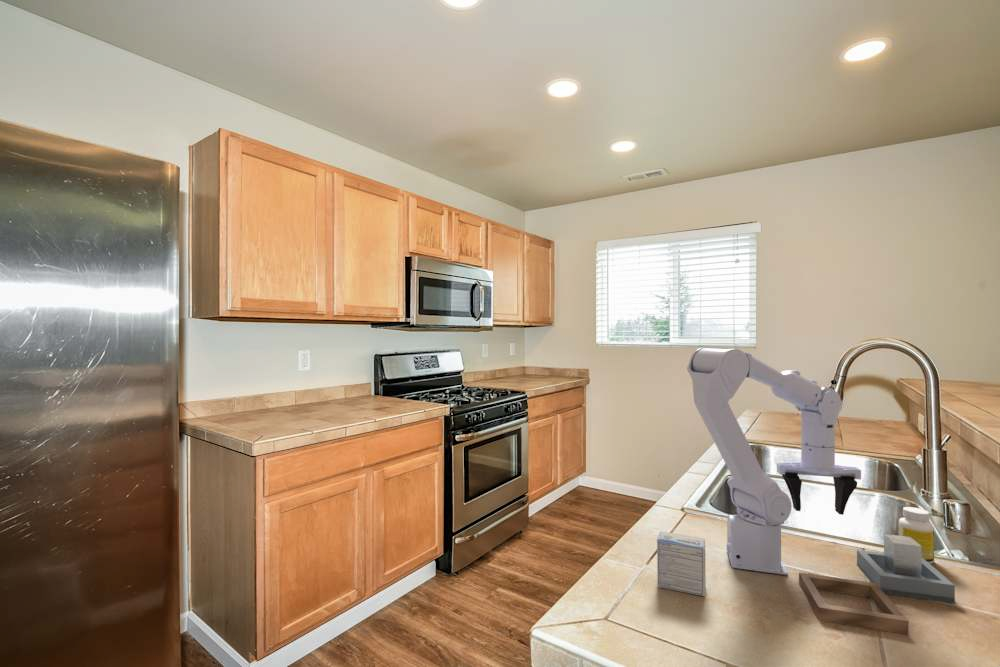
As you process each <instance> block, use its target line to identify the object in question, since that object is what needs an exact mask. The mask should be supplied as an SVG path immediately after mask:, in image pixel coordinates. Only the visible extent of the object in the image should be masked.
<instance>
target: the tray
mask: <svg viewBox="0 0 1000 667" xmlns="http://www.w3.org/2000/svg"><path fill="white" fill-rule="evenodd" d="M921 560H922V578H918V577H910V576H903V575H895V574H887V573H885V572H884V552H878V551H869V550H861V549H857V550H856V566H857V567H858V568H859V570H861V572H863V574H864V575H865V577H866V578H867V579H868V580H869V582H872V583H876V584H877V585H878V586H879V587H880V589H881V590H882V591H883V592H884V593H885V594H886V595H894V596H900V597H907V598H908V597H909V598H916V599H923V600H931V601H936V602H944V603H950V604H956V601H955V600H956V599H955V598H956V594H955V591H956V590H955V589H956V586H955V584H954V583H953V582H951V581H950V579H948V578H947V577H945V575H943V574H942V573H941V572H940V571H939V570H938V569H937V568H935V567H934V566H933V564H929V563H928V562H927V561H926V560H925V559H923V558H921Z"/></svg>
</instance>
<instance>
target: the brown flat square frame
mask: <svg viewBox="0 0 1000 667" xmlns="http://www.w3.org/2000/svg"><path fill="white" fill-rule="evenodd" d="M798 584H799V586H800V588H801V591H802V592H803V593H804V595H805V597H806V599H807V601H808V603H809V604H810V606H811V608H812V610H813V611H814V613H815V615H816V617H817V619H818V620H819V621H824V622H830V623H836V624H841V625H848V626H853V627H854V626H855V627H860V628H867V629H870V630H871V629H874V630H877V631H884V632H890V633H897V634H904V635H910V632H909V631H910V630H909V628H910V626H909V624H910V623H909V620H908V618H906V617H905V615H904V614H903V613H902V612H901V610H900V609H899V608H898V607H897V606H896V604H894V603H893V601H892V600H891V599H890V598H889V597H888V595H887V593H884V592H883V591H882V590H881V589H880V587H879V586H878V585H877V584H876V583H872V582H871V581H863V580H856V579H849V578H843V577H842V578H841V577H834V576H829V575H828V576H827V575H820V574H815V573H814V574H811V573H807V572H806V573H805V572H798ZM819 591H825V592H832V593H840V594H846V595H854V596H859V597H865V598H870V599H871V600H872V602H873V603H874V604H875V606H876V607H877V608H878V609H879V611H880V612H878V611H871V610H865V609H859V608H851V607H845V606H839V605H832V604H827V603H826V602H825V600H824V599H823V597H822V596H821V594H820V592H819Z"/></svg>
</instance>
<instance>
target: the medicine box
mask: <svg viewBox="0 0 1000 667" xmlns="http://www.w3.org/2000/svg"><path fill="white" fill-rule="evenodd" d="M656 546H657V548H656V556H657V557H656V558H657V559H656V561H657V562H656V564H657V566H656V568H657V570H656V571H657V573H656V574H657V575H656V576H657V578H656V579H657V580H656V583H657V584H656V585H657V588H660V589H665V590H671V591H676V592H681V593H686V594H692V595H695V596H701V597H706V583H707V581H706V539H705V538H704V537H700V536H694V535H687V534H682V533H675V532H668V531H663V530H662V531H659V534H658V537H657V539H656Z"/></svg>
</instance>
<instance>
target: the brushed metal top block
mask: <svg viewBox="0 0 1000 667" xmlns="http://www.w3.org/2000/svg"><path fill="white" fill-rule="evenodd" d="M883 553H884V572H885V573H887V574H895V575H903V576H910V577H918V578H922V560H921V545H919V544H918V543H917V542H916V541H915V540H913V539H912V538H911V537H906V536H899V535H897V534H896V535H895V534H886V533H884V534H883Z"/></svg>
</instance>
